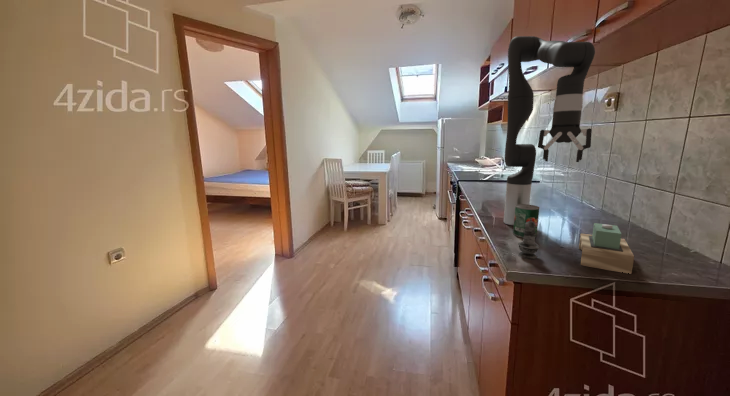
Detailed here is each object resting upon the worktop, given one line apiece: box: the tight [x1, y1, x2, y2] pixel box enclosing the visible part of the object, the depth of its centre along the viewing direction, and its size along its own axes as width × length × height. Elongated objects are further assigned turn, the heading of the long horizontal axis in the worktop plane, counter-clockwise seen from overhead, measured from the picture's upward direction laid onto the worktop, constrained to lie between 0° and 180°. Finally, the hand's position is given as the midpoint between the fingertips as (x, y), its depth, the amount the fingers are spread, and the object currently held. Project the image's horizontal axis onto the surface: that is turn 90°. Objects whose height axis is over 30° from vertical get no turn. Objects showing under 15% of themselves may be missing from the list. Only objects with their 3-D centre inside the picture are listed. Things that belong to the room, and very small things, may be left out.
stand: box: [578, 233, 635, 275], centre depth 89 cm, size 16×11×5 cm
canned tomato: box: [512, 204, 540, 239], centre depth 111 cm, size 8×8×11 cm
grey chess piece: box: [517, 219, 540, 260], centre depth 92 cm, size 6×6×12 cm
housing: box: [591, 222, 622, 249], centre depth 87 cm, size 9×6×5 cm, turn 147°
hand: (561, 161), depth 98 cm, fingers open, 8 cm apart
